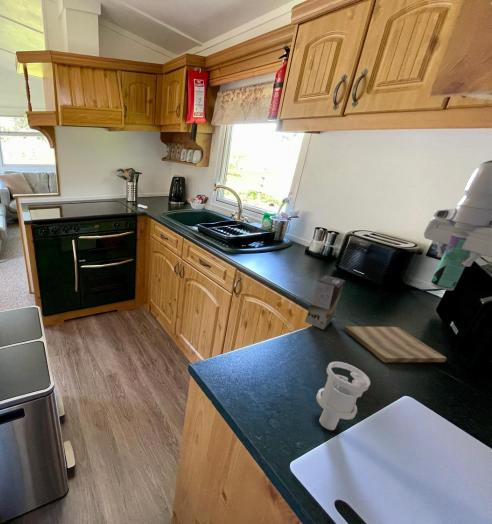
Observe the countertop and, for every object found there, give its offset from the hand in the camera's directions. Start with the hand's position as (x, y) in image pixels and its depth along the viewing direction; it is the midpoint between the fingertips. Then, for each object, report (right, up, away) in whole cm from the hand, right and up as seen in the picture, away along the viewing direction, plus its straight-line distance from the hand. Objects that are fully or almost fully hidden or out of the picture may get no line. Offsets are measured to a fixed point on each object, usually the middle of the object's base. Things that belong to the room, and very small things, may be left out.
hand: (452, 261), depth 89 cm
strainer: (-56, -35, -26) cm, 71 cm away
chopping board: (-16, -27, +3) cm, 31 cm away
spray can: (0, -8, +3) cm, 9 cm away
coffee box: (-33, -21, +14) cm, 42 cm away
